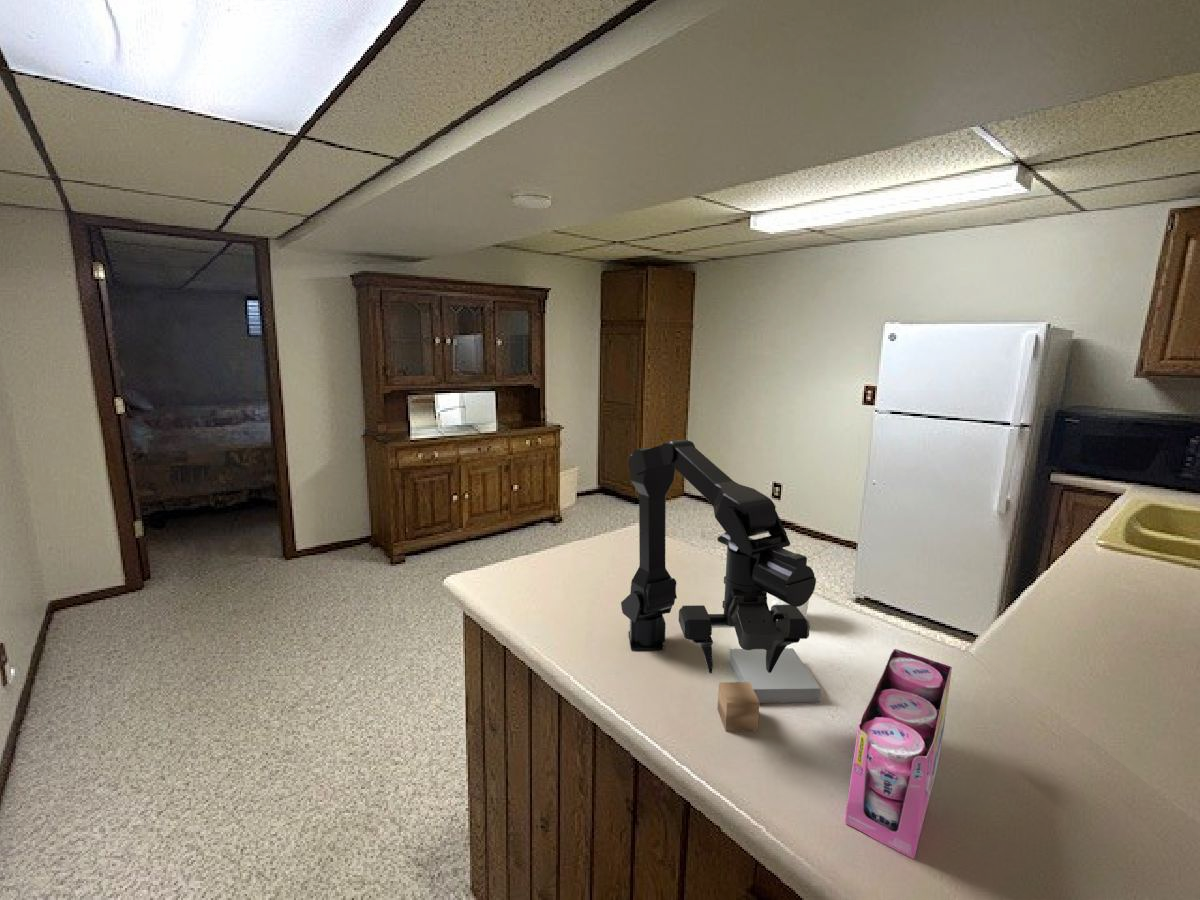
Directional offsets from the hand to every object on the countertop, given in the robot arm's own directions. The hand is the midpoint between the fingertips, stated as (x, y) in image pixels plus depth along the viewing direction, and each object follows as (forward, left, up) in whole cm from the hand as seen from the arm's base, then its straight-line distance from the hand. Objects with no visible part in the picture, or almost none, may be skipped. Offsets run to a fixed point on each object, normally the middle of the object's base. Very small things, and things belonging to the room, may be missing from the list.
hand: (739, 671), depth 83 cm
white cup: (+20, +31, -9) cm, 38 cm away
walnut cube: (0, 0, -9) cm, 9 cm away
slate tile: (+9, +10, -8) cm, 16 cm away
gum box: (+18, -13, -9) cm, 24 cm away
